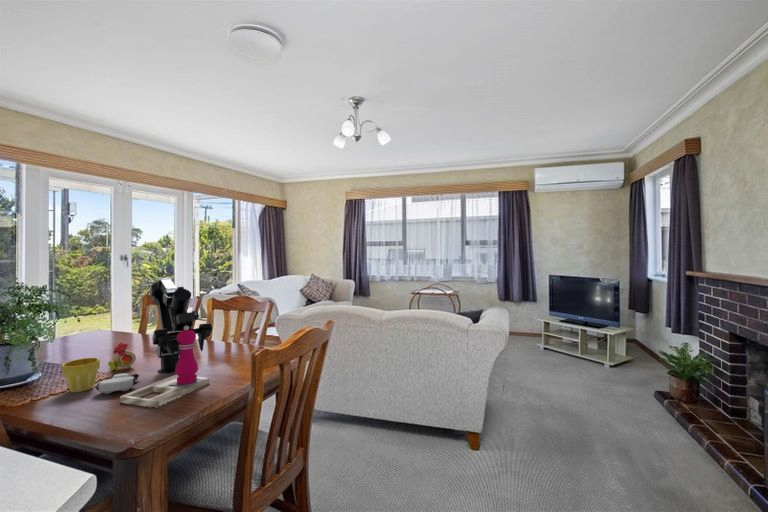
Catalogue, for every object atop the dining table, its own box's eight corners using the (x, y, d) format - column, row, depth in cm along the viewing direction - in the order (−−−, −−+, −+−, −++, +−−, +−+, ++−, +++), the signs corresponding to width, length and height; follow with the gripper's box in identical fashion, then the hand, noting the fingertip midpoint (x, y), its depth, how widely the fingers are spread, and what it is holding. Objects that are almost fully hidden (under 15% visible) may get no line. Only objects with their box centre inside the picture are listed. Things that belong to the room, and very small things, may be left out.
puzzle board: (120, 402, 119) (120, 395, 119) (177, 379, 140) (176, 373, 140) (156, 408, 114) (156, 400, 114) (209, 383, 135) (209, 377, 135)
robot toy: (102, 387, 135) (92, 398, 122) (102, 374, 135) (92, 384, 122) (142, 381, 141) (136, 392, 127) (142, 369, 141) (136, 378, 127)
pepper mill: (202, 378, 134) (202, 323, 134) (189, 385, 127) (188, 328, 126) (185, 377, 135) (184, 323, 135) (170, 384, 128) (169, 327, 128)
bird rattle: (129, 370, 157) (105, 365, 153) (141, 345, 159) (118, 339, 155) (128, 375, 152) (103, 369, 147) (141, 349, 154) (116, 343, 149)
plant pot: (59, 397, 124) (58, 368, 123) (65, 387, 132) (65, 360, 132) (98, 390, 129) (97, 362, 129) (101, 381, 138) (101, 355, 138)
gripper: (153, 306, 127) (160, 344, 119) (210, 301, 139) (220, 335, 131) (149, 326, 133) (156, 363, 125) (204, 319, 145) (214, 352, 137)
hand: (188, 352), depth 129 cm, fingers open, 9 cm apart
